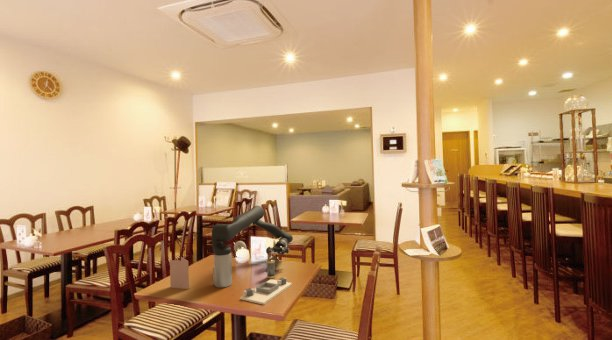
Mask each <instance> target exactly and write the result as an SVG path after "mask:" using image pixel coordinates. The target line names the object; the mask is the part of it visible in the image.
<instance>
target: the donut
mask: <svg viewBox="0 0 612 340" xmlns="http://www.w3.org/2000/svg"><path fill="white" fill-rule="evenodd" d="M239 247H241V248H242V247H244V248H246V249H247V245H246V243H245V242H244V241H243V240H238V241H236V242H235V243H234V246H233V249H234V251H235V253H236V250H237V249H240V248H239Z"/></svg>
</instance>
